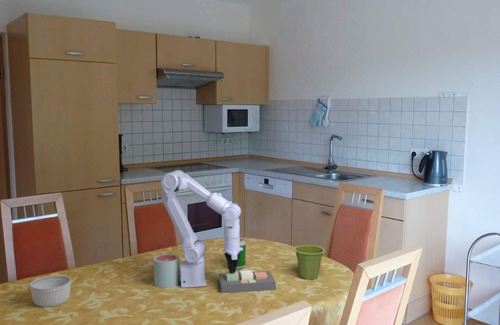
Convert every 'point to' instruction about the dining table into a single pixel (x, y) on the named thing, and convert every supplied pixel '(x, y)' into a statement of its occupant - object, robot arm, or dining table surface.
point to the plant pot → (309, 260)
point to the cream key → (246, 275)
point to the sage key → (232, 276)
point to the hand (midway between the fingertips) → (232, 272)
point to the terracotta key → (260, 275)
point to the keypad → (247, 284)
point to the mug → (166, 271)
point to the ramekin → (50, 290)
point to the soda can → (242, 256)
